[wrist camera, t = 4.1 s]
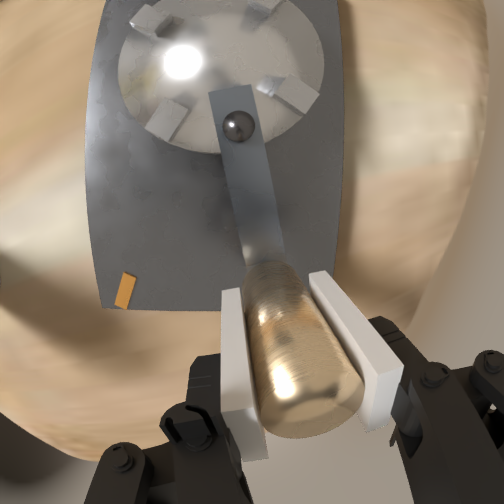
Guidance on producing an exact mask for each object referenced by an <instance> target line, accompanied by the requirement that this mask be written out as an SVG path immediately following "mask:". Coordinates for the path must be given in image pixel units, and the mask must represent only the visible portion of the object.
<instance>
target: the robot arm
mask: <svg viewBox="0 0 504 504" xmlns="http://www.w3.org/2000/svg"><path fill="white" fill-rule="evenodd" d="M309 282H310V293H311V297H312V298H313V300H314V302H315V303H316V305H317V306H318V308H319V310H320V311H321V313H322V315H323V316H324V318H325V319H326V321H327V323H328V324H329V326H330V328H331V329H332V331H333V333H334V334H335V336H336V338H337V339H338V341H339V343H340V344H341V346H342V348H343V349H344V351H345V353H346V354H347V356H348V358H349V359H350V361H351V363H352V364H353V366H354V368H355V369H356V371H357V373H358V375H359V376H360V378H361V380H362V381H363V383H364V386H365V392H364V398H363V402H362V404H361V406H360V407H359V409H358V410H357V411H356V413H357V415H358V417H359V419H360V421H361V423H362V425H363V427H364V429H365V432H366V433H367V432H370V431H372V430H375V429H378V428H380V427H383V426H385V425H387V424H388V422H389V419H390V416H391V415H392V417H393V419H394V420H395V422H396V426H395V429H394V431H393V434H392V437H391V439H390V447H391V446H393V445H394V443H395V440H396V441H397V444H398V447H399V451H400V454H401V457H402V460H403V464H404V467H405V471H406V474H407V478H408V481H409V485H410V489H411V492H412V497H413V500H414V504H504V354H502V353H500V352H498V351H493V350H487V351H483V352H481V353H479V355H478V356H477V357H476V359H475V361H474V364H473V366H469V367H464V368H459V369H455V370H450V369H449V368H448V367H447V366H446V365H444V364H442V363H438V362H428V361H427V359H426V358H425V357H424V356H423V355H422V354H421V353H420V352H419V351H418V349H417V348H416V347H415V346H414V345H413V344H412V343H411V342H410V340H409V339H408V338H406V337H405V335H404V334H403V333H402V332H401V331H399V328H398V327H397V326H396V325H395V324H394V323H393V322H392V321H390V320H388V319H386V318H384V317H382V316H378V317H375V318H372V319H368V320H367V319H366V318H365V316H364V315H363V314H362V313H361V312H360V310H359V309H358V308H357V307H356V306H355V304H354V303H353V302H352V301H351V300H350V299H349V297H348V296H347V295H346V294H345V293H344V291H343V290H342V289H341V288H340V287H339V286H338V284H337V283H336V282H335V281H334V280H333V279H332V278H331V276H330V275H329V274H328V273H327V272H326V271H325V270H324V271H319V272H314V273H310V274H309ZM492 404H494V406H495V407H496V410H492V409H490V406H491V405H492ZM159 426H160V428H161V429H162V431H163V432H164V434H165V435H166V436H167V438H168V439H169V442H167V443H165V444H162V445H159V446H155V447H151V448H147V449H143V450H141V449H140V448H139V447H138V446H137V445H135V444H132V443H129V442H120V443H117V444H114V445H112V446H110V447H109V448H108V449H106V450H105V452H104V453H103V455H102V456H101V459H100V461H99V464H98V466H97V469H96V472H95V474H94V477H93V480H92V482H91V485H90V488H89V490H88V493H87V496H86V499H85V502H84V504H254V503H253V500H252V497H251V493H250V490H249V487H248V484H247V481H246V477H245V475H244V473H243V471H242V467H241V458H242V460H243V462H247V461H255V460H262V459H268V452H267V446H266V440H265V433H264V427H263V424H262V422H261V418H260V411H259V405H258V399H257V392H256V385H255V379H254V372H253V365H252V359H251V352H250V345H249V338H248V331H247V324H246V317H245V312H244V307H243V302H242V298H241V293H240V288H239V287H238V288H233V289H227V290H222V306H221V353H219V354H212V355H205V356H197V358H196V359H195V361H194V362H193V364H192V365H191V367H190V373H189V380H188V389H187V395H186V401H185V402H182V403H179V404H176V405H174V406H173V407H171V408H170V409H168V410H167V411H166V412H165V413H164V415H163V416H162V417H161V421H160V425H159Z"/></svg>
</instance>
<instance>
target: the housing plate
mask: <svg viewBox="0 0 504 504" xmlns="http://www.w3.org/2000/svg"><path fill="white" fill-rule="evenodd" d="M159 1H160V0H106V2H105V6H104V9H103V13H102V17H101V21H100V25H99V29H98V34H97V39H96V44H95V49H94V54H93V60H92V67H91V73H90V81H89V90H88V100H87V112H86V130H85V181H86V200H87V213H88V223H89V233H90V241H91V248H92V255H93V262H94V268H95V274H96V279H97V284H98V289H99V294H100V299H101V304H102V308H111V309H125V310H127V309H131V310H162V311H221V306H222V290H227V289H233V288H238V287H239V288H240V293H241V298H242V302H243V296H242V283H243V280H244V278H245V276H246V274H247V268H246V264H245V259H244V255H243V251H242V246H241V242H240V237H239V233H238V228H237V224H236V219H235V215H234V210H233V206H232V201H231V197H230V192H229V188H228V183H227V179H226V174H225V170H224V165H223V160H222V156H221V154H215V155H214V154H203V153H198V152H193V151H189V150H186V149H183V148H181V147H178V146H175V145H172V144H170V143H168V142H166V141H164V140H161V139H159V138H158V137H156V136H155V135H153V134H152V133H150V132H149V131H147V130H146V129H144V127H143V126H142V125H141V124H139V123H138V121H137V120H136V119H135V118H134V117H133V115H132V114H131V113H130V111H129V109H128V108H127V106H126V104H125V102H124V100H123V97H122V95H121V92H120V87H119V82H118V64H119V57H120V53H121V50H122V47H123V44H124V42H125V40H126V37H127V36H128V34H129V32H130V31H131V29H132V26H131V24H130V23H129V21H130V20H131V19H132V18H133V17H134V16H135V15H136V14H137V12H138V11H139V10H140V9H141V8H142V7H143V6H144V5H145V4H147V5H150V6H154V5H155V4H156V3H157V2H159ZM289 1H290V2H291V3H293V4H294V5H295V6H297V7H298V8H299V9H300V10H301V11H302V12H303V13H304V14H305V16H306V17H307V18H308V19H309V21H310V22H311V23H312V25H313V27H314V28H315V30H316V32H317V34H318V37H319V39H320V42H321V45H322V49H323V54H324V74H323V79H322V83H321V87H320V89H319V92H318V93H319V94H320V95H319V96H318V97H317V99H316V100H315V101H314V103H313V104H312V106H311V107H310V108H309V110H308V111H307V113H306V114H305V115H303V117H302V118H301V119H300V120H299V121H297V122H296V123H295V124H294V125H293V126H292V127H291V128H289V129H288V130H286V131H285V132H284V133H282V134H281V135H279V136H277V137H275V138H273V139H271V140H269V141H267V142H266V143H264V145H265V149H266V154H267V159H268V164H269V169H270V174H271V179H272V184H273V189H274V195H275V200H276V205H277V211H278V216H279V221H280V227H281V232H282V238H283V244H284V250H285V255H286V261H287V264H288V265H290V266H291V267H292V268H293V269H294V270H295V271H296V273H297V274H298V276H299V278H300V279H301V281H302V282H303V284H304V286H305V287H306V289H307V290H308V292H309V294H310V295H311V293H310V282H309V274H310V273H314V272H319V271H324V270H325V271H326V272H327V273H328V274H329V275H330V276H331V278H332V279H333V272H334V264H335V256H336V247H337V238H338V228H339V217H340V205H341V190H342V173H343V148H344V84H343V60H342V44H341V32H340V21H339V12H338V3H337V0H289ZM243 307H244V303H243ZM244 311H245V310H244Z"/></svg>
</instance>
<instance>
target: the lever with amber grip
mask: <svg viewBox="0 0 504 504" xmlns="http://www.w3.org/2000/svg"><path fill="white" fill-rule="evenodd" d="M129 23H130V24H131V26H132V29H131V31H130V32H129V34H128V36H127V37H126V40H125V42H124V44H123V47H122V50H121V53H120V57H119V64H118V82H119V87H120V92H121V95H122V97H123V100H124V102H125V104H126V106H127V108H128V109H129V111H130V113H131V114H132V115H133V117H134V118H135V119H136V120H137V121H138V123H139V124H141V125H142V126H143V127H144V129H146V130H147V131H149V132H150V133H152V134H153V135H155V136H156V137H158V138H159V139H161V140H164V141H166V142H168V143H170V144H172V145H175V146H178V147H181V148H183V149H186V150H189V151H193V152H198V153H203V154H214V155H215V154H221V156H222V160H223V165H224V170H225V174H226V179H227V183H228V188H229V192H230V197H231V201H232V206H233V210H234V215H235V219H236V224H237V228H238V233H239V237H240V242H241V246H242V251H243V255H244V259H245V264H246V268H247V274H246V276H245V278H244V280H243V283H242V296H243V303H244V310H245V317H246V324H247V331H248V338H249V345H250V352H251V359H252V365H253V372H254V379H255V385H256V392H257V399H258V405H259V411H260V418H261V422H262V424H263V426H264V428H265V429H266V430H267V431H269V432H270V433H272V434H274V435H277V436H280V437H284V438H307V437H312V436H317V435H320V434H323V433H325V432H328V431H330V430H332V429H334V428H336V427H338V426H340V425H341V424H343V423H344V422H345V421H347V420H348V419H349V418H350V417H351V416H353V415H354V413H355V412H356V411H357V410H358V409H359V407H360V406H361V404H362V402H363V398H364V392H365V386H364V383H363V381H362V380H361V378H360V376H359V375H358V373H357V371H356V369H355V368H354V366H353V364H352V363H351V361H350V359H349V358H348V356H347V354H346V353H345V351H344V349H343V348H342V346H341V344H340V343H339V341H338V339H337V338H336V336H335V334H334V333H333V331H332V329H331V328H330V326H329V324H328V323H327V321H326V319H325V318H324V316H323V315H322V313H321V311H320V310H319V308H318V306H317V305H316V303H315V302H314V300H313V298H312V297H311V295H310V294H309V292H308V290H307V289H306V287H305V286H304V284H303V282H302V281H301V279H300V278H299V276H298V274H297V273H296V271H295V270H294V269H293V268H292V267H291V266H290V265H288V264H287V261H286V255H285V250H284V244H283V238H282V232H281V227H280V221H279V216H278V211H277V205H276V200H275V195H274V189H273V184H272V179H271V174H270V169H269V164H268V159H267V154H266V149H265V145H264V143H266V142H267V141H269V140H271V139H273V138H275V137H277V136H279V135H281V134H282V133H284V132H285V131H286V130H288V129H289V128H291V127H292V126H293V125H294V124H295V123H296V122H297V121H299V120H300V119H301V118H302V117H303V115H305V114H306V113H307V111H308V110H309V108H310V107H311V106H312V104H313V103H314V101H315V100H316V99H317V97H318V96H319V95H320V94H319V93H318V92H319V89H320V87H321V83H322V79H323V74H324V54H323V49H322V45H321V42H320V39H319V37H318V34H317V32H316V30H315V28H314V27H313V25H312V23H311V22H310V21H309V19H308V18H307V17H306V16H305V14H304V13H303V12H302V11H301V10H300V9H299V8H298V7H297V6H295V5H294V4H293V3H291V2H290V1H289V0H160V1H159V2H157V3H156V4H155V5H154V6H150V5H147V4H145V5H144V6H143V7H142V8H141V9H140V10H139V11H138V12H137V14H136V15H135V16H134V17H133V18H132V19H131V20H130V21H129Z"/></svg>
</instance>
